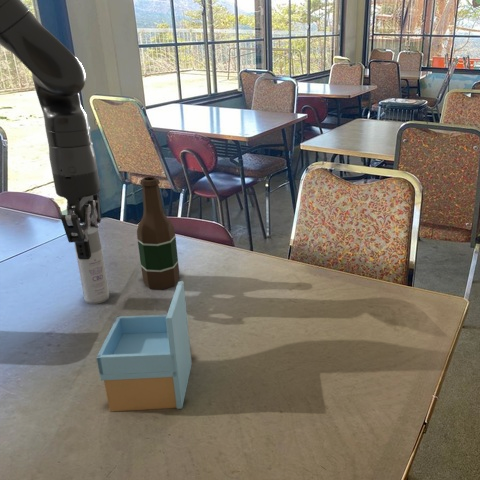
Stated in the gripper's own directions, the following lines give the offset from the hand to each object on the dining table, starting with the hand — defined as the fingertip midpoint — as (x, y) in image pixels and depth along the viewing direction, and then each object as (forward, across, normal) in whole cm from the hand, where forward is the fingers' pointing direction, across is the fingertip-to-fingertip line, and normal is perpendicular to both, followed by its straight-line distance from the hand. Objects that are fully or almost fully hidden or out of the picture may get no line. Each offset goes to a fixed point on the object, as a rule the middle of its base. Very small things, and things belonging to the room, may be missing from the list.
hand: (89, 252), depth 94 cm
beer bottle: (+11, -8, +11) cm, 18 cm away
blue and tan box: (+11, +27, +16) cm, 33 cm away
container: (+11, 0, 0) cm, 11 cm away
